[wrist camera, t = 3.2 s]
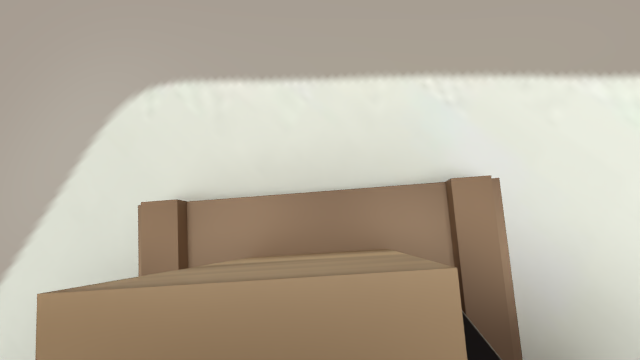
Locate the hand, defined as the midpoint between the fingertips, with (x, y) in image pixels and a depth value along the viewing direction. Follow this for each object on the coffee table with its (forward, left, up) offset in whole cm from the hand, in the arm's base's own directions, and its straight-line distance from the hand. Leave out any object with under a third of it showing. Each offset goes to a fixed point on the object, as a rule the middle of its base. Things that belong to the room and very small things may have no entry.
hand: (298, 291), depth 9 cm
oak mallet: (-5, 0, -5) cm, 7 cm away
